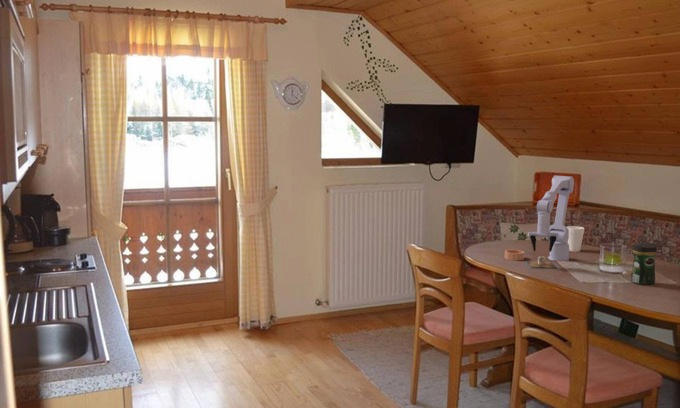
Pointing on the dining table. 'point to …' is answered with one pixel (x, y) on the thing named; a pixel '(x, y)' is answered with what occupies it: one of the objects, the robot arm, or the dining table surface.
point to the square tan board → (541, 263)
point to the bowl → (514, 255)
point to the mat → (540, 268)
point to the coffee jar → (644, 263)
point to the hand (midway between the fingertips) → (542, 251)
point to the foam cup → (575, 238)
